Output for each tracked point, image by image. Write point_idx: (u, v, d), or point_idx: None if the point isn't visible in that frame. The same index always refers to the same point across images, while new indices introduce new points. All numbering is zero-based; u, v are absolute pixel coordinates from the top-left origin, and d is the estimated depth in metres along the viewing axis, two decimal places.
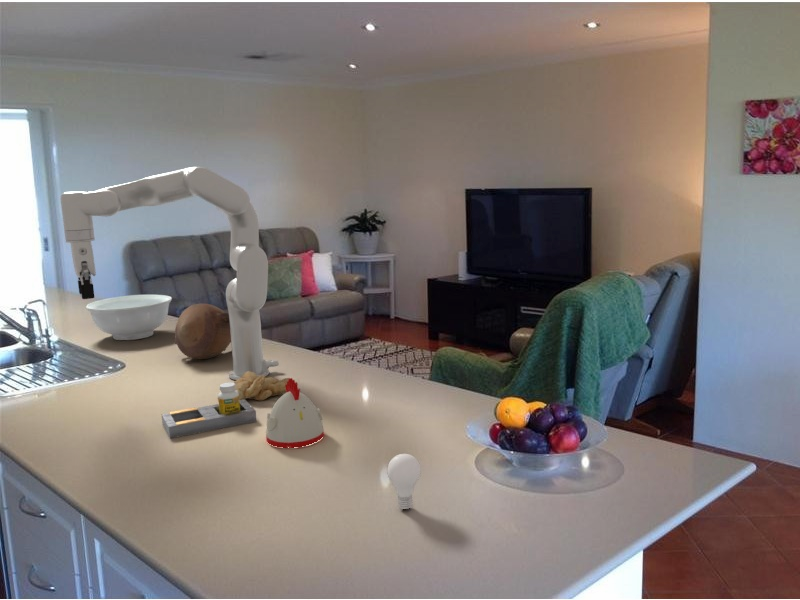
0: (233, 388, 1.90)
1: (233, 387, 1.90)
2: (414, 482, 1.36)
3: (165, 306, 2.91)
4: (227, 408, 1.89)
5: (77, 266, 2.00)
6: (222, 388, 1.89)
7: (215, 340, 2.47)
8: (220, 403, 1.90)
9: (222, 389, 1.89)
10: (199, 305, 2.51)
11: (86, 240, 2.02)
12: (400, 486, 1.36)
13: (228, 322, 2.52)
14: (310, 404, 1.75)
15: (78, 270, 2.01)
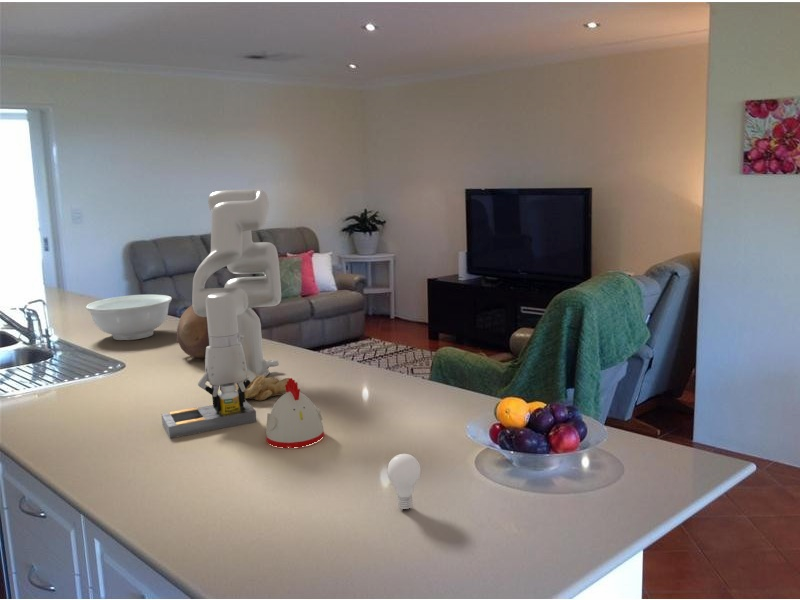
0: (233, 388, 1.90)
1: (233, 387, 1.90)
2: (414, 482, 1.36)
3: (165, 306, 2.91)
4: (227, 408, 1.89)
5: (246, 368, 1.91)
6: (222, 388, 1.89)
7: None
8: (220, 403, 1.90)
9: (222, 389, 1.89)
10: None
11: None
12: (400, 486, 1.36)
13: None
14: (310, 404, 1.75)
15: (246, 372, 1.91)
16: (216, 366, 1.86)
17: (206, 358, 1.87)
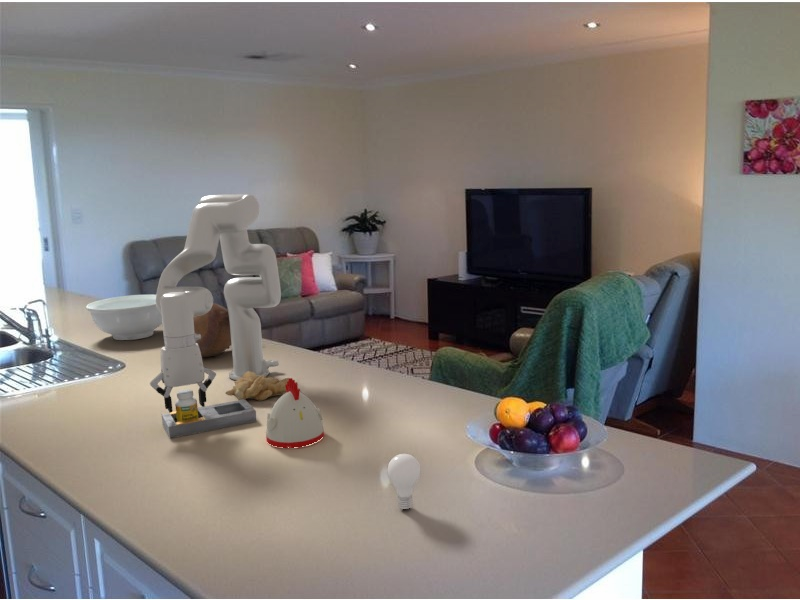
0: (190, 395, 1.85)
1: (190, 394, 1.85)
2: (414, 482, 1.36)
3: None
4: (185, 416, 1.85)
5: (203, 370, 1.86)
6: (179, 395, 1.84)
7: (218, 338, 2.49)
8: (177, 411, 1.85)
9: (179, 396, 1.84)
10: None
11: None
12: (400, 486, 1.36)
13: None
14: (310, 404, 1.75)
15: None
16: (171, 367, 1.81)
17: (161, 359, 1.82)
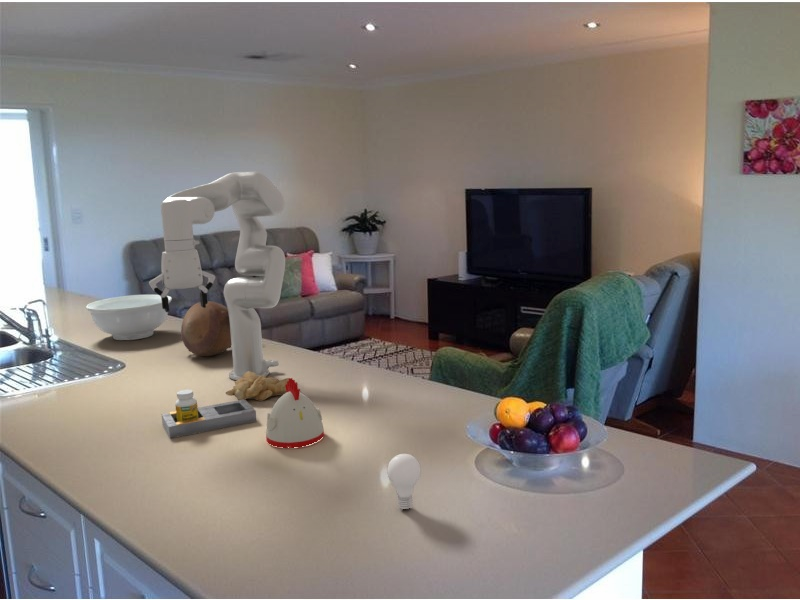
0: (191, 395, 1.85)
1: (191, 394, 1.85)
2: (414, 482, 1.36)
3: None
4: (185, 416, 1.85)
5: (201, 274, 1.96)
6: (179, 395, 1.84)
7: (219, 337, 2.50)
8: (177, 411, 1.85)
9: (179, 396, 1.84)
10: None
11: None
12: (400, 486, 1.36)
13: None
14: (310, 404, 1.75)
15: (202, 278, 1.96)
16: (171, 270, 1.91)
17: (162, 262, 1.92)
